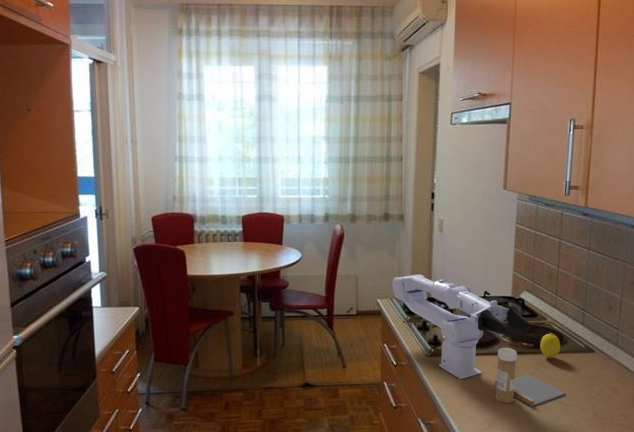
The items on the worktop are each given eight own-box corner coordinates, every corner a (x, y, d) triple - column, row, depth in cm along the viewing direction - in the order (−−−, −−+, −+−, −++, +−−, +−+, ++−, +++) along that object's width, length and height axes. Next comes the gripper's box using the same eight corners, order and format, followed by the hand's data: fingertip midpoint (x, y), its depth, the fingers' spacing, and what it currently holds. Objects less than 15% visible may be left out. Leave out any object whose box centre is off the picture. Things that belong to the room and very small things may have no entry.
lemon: (542, 352, 162) (544, 328, 161) (561, 357, 159) (563, 332, 157) (537, 358, 158) (538, 333, 156) (556, 363, 154) (558, 338, 153)
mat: (495, 386, 141) (495, 381, 141) (528, 375, 147) (528, 370, 147) (531, 406, 131) (531, 401, 130) (565, 394, 137) (565, 389, 136)
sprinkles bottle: (517, 402, 133) (520, 354, 130) (500, 404, 132) (503, 355, 130) (508, 393, 137) (511, 346, 135) (492, 395, 136) (495, 347, 134)
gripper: (460, 297, 137) (497, 316, 125) (501, 292, 143) (540, 311, 131) (457, 321, 138) (493, 343, 126) (498, 316, 144) (536, 336, 132)
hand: (517, 328), depth 129 cm, fingers open, 7 cm apart
